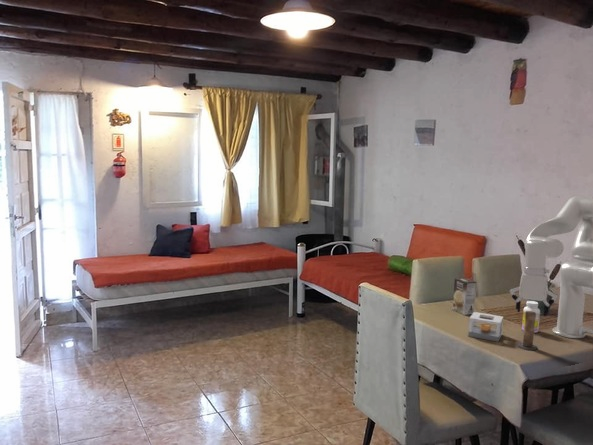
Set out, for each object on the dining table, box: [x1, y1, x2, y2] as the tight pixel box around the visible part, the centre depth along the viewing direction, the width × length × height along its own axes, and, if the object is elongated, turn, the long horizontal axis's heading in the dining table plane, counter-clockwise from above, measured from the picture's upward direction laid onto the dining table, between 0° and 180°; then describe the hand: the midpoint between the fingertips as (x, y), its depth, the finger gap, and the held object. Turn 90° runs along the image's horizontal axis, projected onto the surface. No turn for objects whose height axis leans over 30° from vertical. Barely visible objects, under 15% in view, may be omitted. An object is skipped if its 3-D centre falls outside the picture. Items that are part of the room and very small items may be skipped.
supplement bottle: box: [521, 300, 541, 334], centre depth 228 cm, size 7×7×13 cm
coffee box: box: [452, 277, 477, 316], centre depth 253 cm, size 9×6×16 cm
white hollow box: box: [467, 311, 504, 342], centre depth 220 cm, size 12×10×8 cm
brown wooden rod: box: [522, 311, 536, 348], centre depth 207 cm, size 4×4×14 cm
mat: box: [517, 342, 538, 351], centre depth 208 cm, size 7×7×1 cm
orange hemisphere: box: [480, 323, 492, 332], centre depth 220 cm, size 4×4×2 cm
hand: (531, 313), depth 207 cm, fingers open, 9 cm apart
